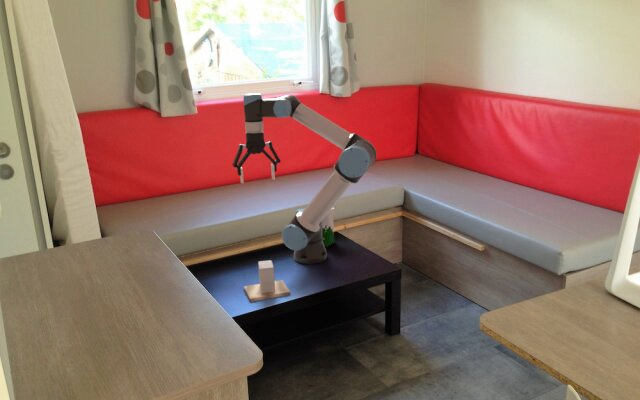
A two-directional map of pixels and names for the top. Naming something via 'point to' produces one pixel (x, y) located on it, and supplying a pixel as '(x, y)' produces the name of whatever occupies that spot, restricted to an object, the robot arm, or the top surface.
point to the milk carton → (328, 228)
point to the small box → (266, 276)
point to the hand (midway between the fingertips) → (257, 181)
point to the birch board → (255, 293)
